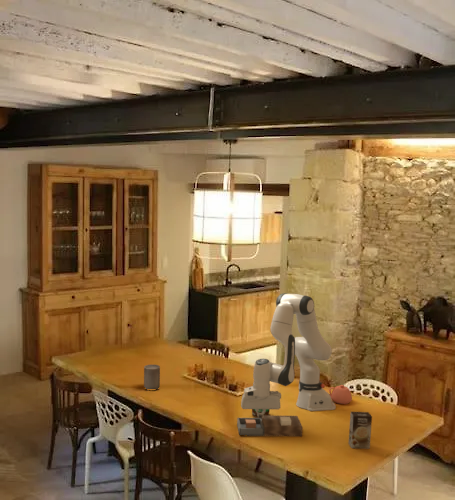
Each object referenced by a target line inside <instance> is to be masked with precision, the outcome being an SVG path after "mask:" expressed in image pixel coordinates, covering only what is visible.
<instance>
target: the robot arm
mask: <svg viewBox="0 0 455 500" xmlns="http://www.w3.org/2000/svg"><path fill="white" fill-rule="evenodd" d="M294 315H295V319H296V325H297V329H298V333H299V334H300V335H301V336H294V335H293V331H292V329H293V323H294ZM317 320H318V319H317V316H316V311H315V301H314V300H313V298H312V297H311V296H308V295H304V294H299V293H286V292H285V293H284V292H283V293H280V294H279V295H278V296H277V297H276V300H275V310H274V312H273V315H272V319H271V323H270V327H269V329H270V333H271V336H272V337H273V338H274V339H275V340H276V341H278V342H279V343H281V345H283V348H284V362H283V365H282V364H280V363H275V362H271V361H270V359H267V358H258V359H256V361H254V366H253V374H252V375H253V377H252V378H253V383H252V385H251V386H249V387H248V386H247V387H245V388H244V389H243V394H242V396H241V401H240V406H241V409H243V410H252V409H255V410H256V412H257V417H256V418H259V417H263V414H264V413H265V412H266V409H270V410H280V409H281V399H282V393H281V392H280V391H278V390H275V391H274V390H271V383H270V382H272V383H275V384H279V385H281V386H284V387H288V386H289V385H291V384H292V383H293V382H294V380H295V376H296V375H295V357H296V358H297V361H298V365H299V382H298V396H297V400H296V403H295V405H296V406H297V407H299V408H300V409H303V410H304V409H305V410H307V411H310V412H312V411H313V412H317V411H319V412H320V411H331V410H334V411H335V410H336V407H337V406H336V403H335V402H334V401H333V400H332V399H331V396H330V392H328V391H326V390H325V386H326V385H325V384H324V383H323V382H321V381H320V375H321V374H320V372H321V370H320V367H319V366H318V364H317V363H316V362H315V360H316V361H328V360H329V359H330V357H331V356H332V353H333V349H332V346H331V345H330V344H329V342H327V341H326V340H325V338H324V337H323V335H322V334H321V332H320V329H319V327H318V325H319V324H318V321H317ZM259 409H263V412H262V413H258V411H259Z"/></svg>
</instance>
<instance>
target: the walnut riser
mask: <svg viewBox="0 0 455 500" xmlns="http://www.w3.org/2000/svg"><path fill="white" fill-rule="evenodd" d="M280 417H290V419H291V425H281V424H280ZM261 419H262V422H263V425H264V429H265V432H264V436H263V437H303V424H302V423H301V420H300V418H299V416H298V415H270V414H269V415H263V417H261Z"/></svg>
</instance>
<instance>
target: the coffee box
mask: <svg viewBox="0 0 455 500" xmlns="http://www.w3.org/2000/svg"><path fill="white" fill-rule="evenodd" d="M372 421H373V416H372V415H371V413H370V412H369V411H350V417H349V431H348V445H349V447H350V448H351V449H370V448H371V437H372V436H371V435H372V423H373V422H372Z"/></svg>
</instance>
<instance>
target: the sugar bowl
mask: <svg viewBox="0 0 455 500" xmlns="http://www.w3.org/2000/svg"><path fill="white" fill-rule="evenodd" d="M328 390H329V392H328V393H329V394H330V396H331V399H332V402H333V403H334V404H343V405H347V404H349V403H351V402H352V400H353V396H352V395H353V394H352V393H351V391H350V388H348V387H347V386H345V384H340V385H336V386H335V387H333V386H332V387H329V389H328ZM331 391H332V392H331Z"/></svg>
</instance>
